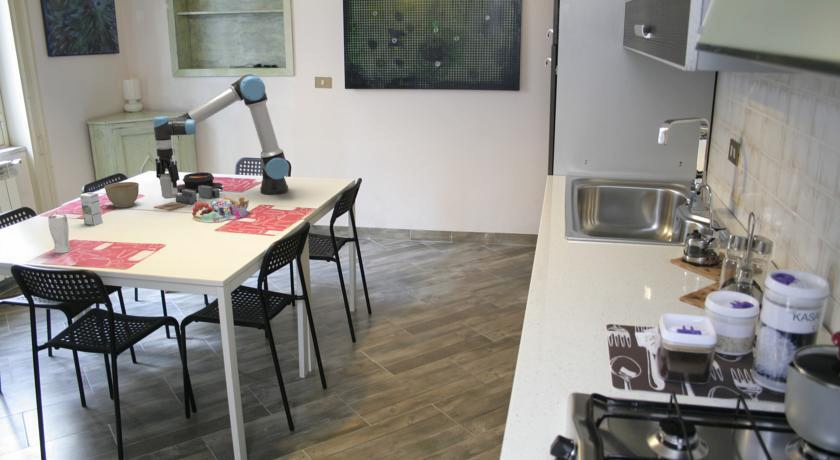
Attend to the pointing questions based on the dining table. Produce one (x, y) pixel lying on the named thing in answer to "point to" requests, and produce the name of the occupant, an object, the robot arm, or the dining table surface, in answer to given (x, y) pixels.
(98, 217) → the syrup box
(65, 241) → the beer glass
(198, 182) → the casserole
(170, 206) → the mat
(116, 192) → the planter bowl
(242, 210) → the candy landscape model
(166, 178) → the can
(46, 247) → the dining table surface
